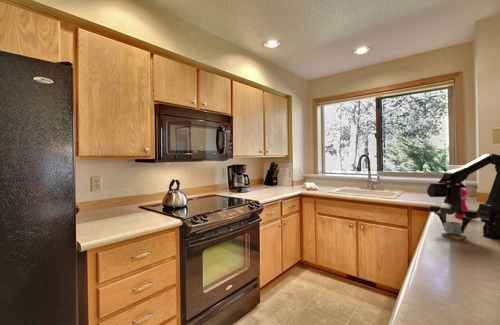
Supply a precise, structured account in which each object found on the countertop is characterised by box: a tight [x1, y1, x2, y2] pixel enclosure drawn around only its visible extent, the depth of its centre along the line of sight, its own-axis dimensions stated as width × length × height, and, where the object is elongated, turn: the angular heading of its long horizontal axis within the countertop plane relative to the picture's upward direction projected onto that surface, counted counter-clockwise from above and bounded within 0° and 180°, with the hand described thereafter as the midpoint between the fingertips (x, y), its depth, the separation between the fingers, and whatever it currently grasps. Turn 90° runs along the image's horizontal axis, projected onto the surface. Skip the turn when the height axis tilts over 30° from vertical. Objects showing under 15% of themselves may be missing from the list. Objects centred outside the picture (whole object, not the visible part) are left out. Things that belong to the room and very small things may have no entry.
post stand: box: [441, 220, 467, 241], centre depth 117 cm, size 7×7×7 cm
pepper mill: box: [454, 188, 469, 219], centre depth 154 cm, size 7×7×20 cm
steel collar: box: [443, 221, 465, 234], centre depth 117 cm, size 7×7×4 cm
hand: (453, 229), depth 117 cm, fingers closed on steel collar, 7 cm apart
